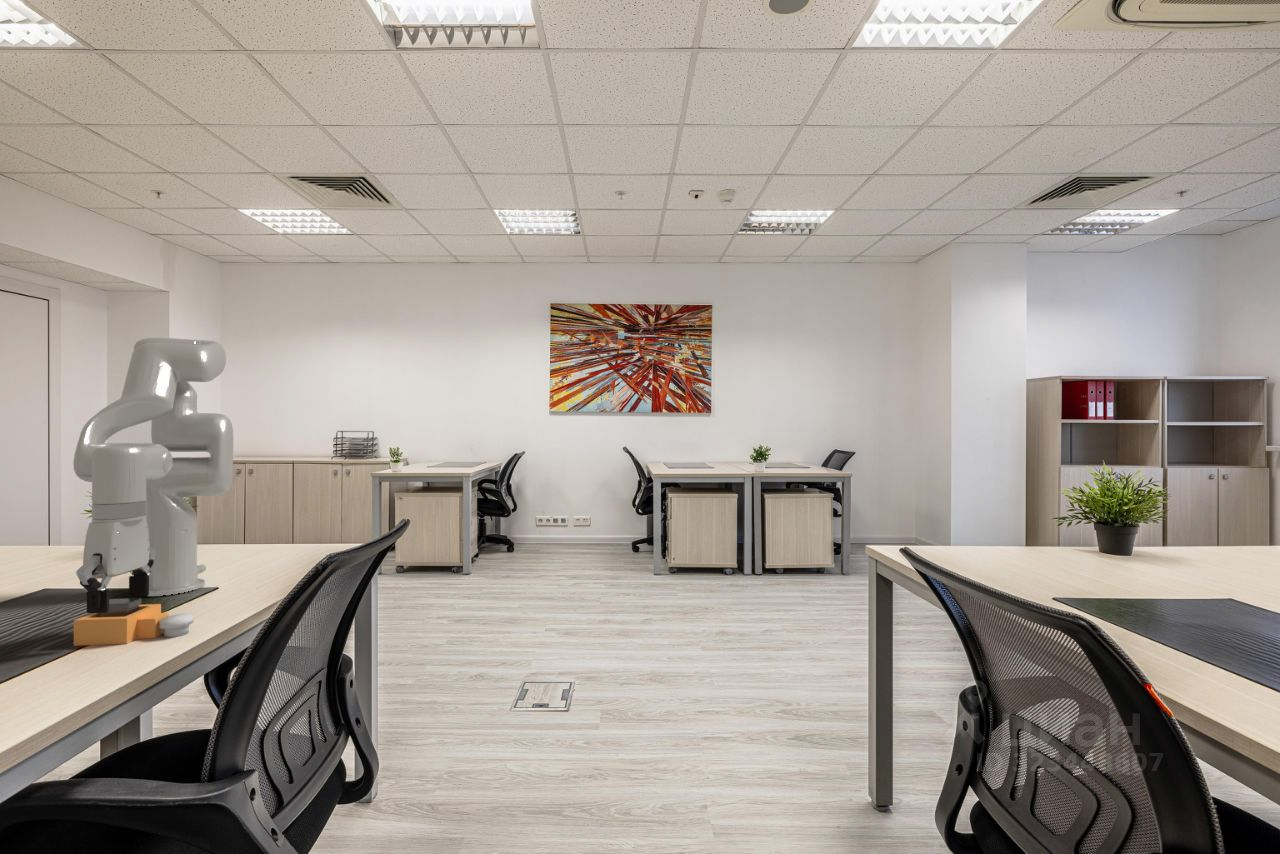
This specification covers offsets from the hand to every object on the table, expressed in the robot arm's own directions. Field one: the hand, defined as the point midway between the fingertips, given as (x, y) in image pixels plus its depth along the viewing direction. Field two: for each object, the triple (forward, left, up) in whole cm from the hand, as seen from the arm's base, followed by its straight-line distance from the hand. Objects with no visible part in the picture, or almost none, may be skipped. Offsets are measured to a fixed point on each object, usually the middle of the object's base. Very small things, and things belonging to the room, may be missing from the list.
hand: (119, 604), depth 107 cm
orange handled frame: (0, +4, -6) cm, 7 cm away
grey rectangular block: (0, 0, -6) cm, 6 cm away
